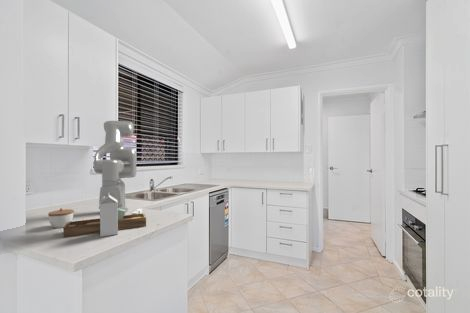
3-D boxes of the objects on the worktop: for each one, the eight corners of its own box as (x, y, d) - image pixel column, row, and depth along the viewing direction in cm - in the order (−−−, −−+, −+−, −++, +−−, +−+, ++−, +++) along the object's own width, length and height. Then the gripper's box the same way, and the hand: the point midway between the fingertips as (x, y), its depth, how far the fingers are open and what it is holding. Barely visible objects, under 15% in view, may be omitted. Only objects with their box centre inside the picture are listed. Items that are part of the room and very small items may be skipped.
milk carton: (117, 230, 112) (117, 191, 112) (117, 234, 106) (117, 193, 106) (101, 232, 109) (100, 193, 109) (100, 237, 103) (99, 195, 103)
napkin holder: (139, 215, 141) (139, 206, 141) (153, 217, 136) (153, 208, 136) (118, 222, 128) (118, 212, 128) (132, 224, 123) (132, 214, 123)
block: (114, 217, 120) (117, 208, 121) (122, 219, 122) (125, 209, 122) (113, 219, 116) (117, 209, 117) (122, 220, 118) (125, 211, 119)
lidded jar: (53, 224, 124) (53, 207, 124) (76, 222, 127) (76, 205, 127) (44, 230, 114) (44, 211, 114) (70, 227, 117) (69, 209, 117)
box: (68, 231, 112) (68, 222, 112) (144, 221, 127) (144, 213, 127) (63, 237, 103) (63, 227, 103) (146, 226, 118) (145, 217, 118)
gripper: (126, 182, 124) (127, 215, 124) (94, 184, 118) (95, 219, 118) (126, 183, 117) (127, 219, 117) (92, 185, 111) (93, 223, 111)
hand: (111, 219), depth 117 cm, fingers closed
